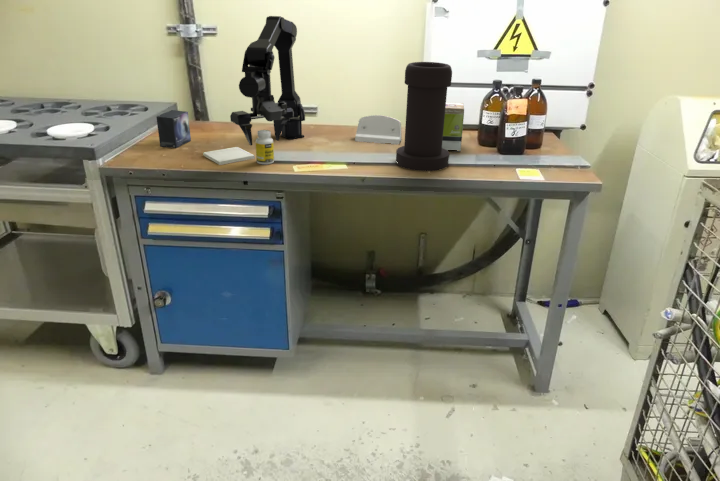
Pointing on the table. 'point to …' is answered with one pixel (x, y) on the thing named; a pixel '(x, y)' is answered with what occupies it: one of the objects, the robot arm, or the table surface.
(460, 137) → the tea box
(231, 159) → the pad
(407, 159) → the pipe
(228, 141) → the table surface
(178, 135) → the small box
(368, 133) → the grey rounded upright plate
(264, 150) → the supplement bottle
